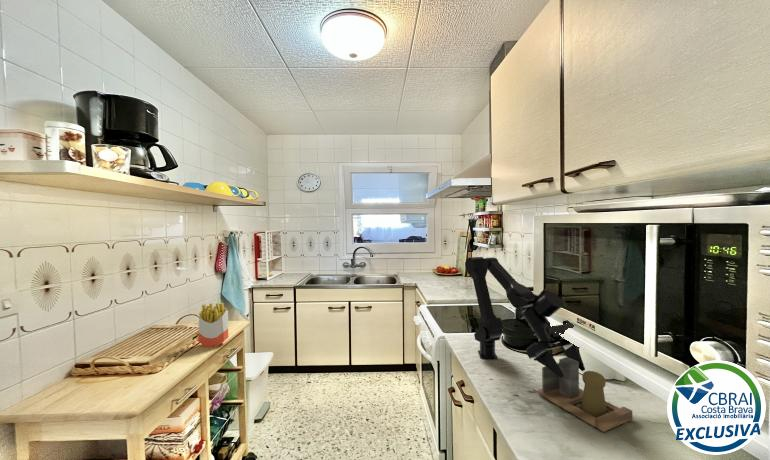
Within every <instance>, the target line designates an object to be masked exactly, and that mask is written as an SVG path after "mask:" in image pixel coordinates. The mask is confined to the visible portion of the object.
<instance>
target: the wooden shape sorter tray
mask: <svg viewBox="0 0 770 460" xmlns="http://www.w3.org/2000/svg"><path fill="white" fill-rule="evenodd" d="M557 364H558V366H559V367H560V369H561V371H562V373H563V375H564V377H562V378H561V377H559V376H558V375H556V374H555V373H554V372H552V371H551V370H550V369H548V368H547V367H546V366H543V367H542V368H541V381H542V383H541V384H542V385H541V388H540V389H538V390H537V392H538V393H537V394H538V395H539V396H542V397H543V398H545V399H546V400H548V401H550V402H552V403H553V404H555V405H556V406H558V407H560V408H562V409H564V410H565V411H566V412H569V413H570V414H572V415H574V416H576V417H577V418H579V419H581V420H582V421H584V422H585V423H588V424H589V425H590V426H592V427H595V428H596V429H598V430H599V431H601V432H606V431H608V430H609V431H610V430H611V429H613V428H616V427H618V426H620V425H622V424H625V423H627V422H629V421H631V420H633V410H632V409H630V408H628V407H626V406H621V407H618V406H616V405H614V404H612V403H611V402H608V401H606V400H605V403H606V409H607V414H604V415H602V416H600V417H597V418H595V417H594V416H592V415H590V414H588V413H586V412H585V411H583V410H581V408H580V407H578V406H575V405H576V404H579V403H582V399H583V392H584V389H581V388H580V369H579V362H578V361H575V360H573V359H571V358H568V357H567V356H566V357H563V358H559V360H558V362H557Z"/></svg>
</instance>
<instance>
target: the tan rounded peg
mask: <svg viewBox="0 0 770 460" xmlns="http://www.w3.org/2000/svg"><path fill="white" fill-rule="evenodd" d="M581 376H582V382H583V383H584V385H583V386H584V387H583V390H584V392H583V399H582V402H581V406H580V409H581V410H583V411H585V412H586V413H588V414H590V415H592V416H594V417H595V418H597V417H600V416H602V415H604V414H607V413H608V411H607V409H606V403H605V401H606V398H605V391H604V388H605V387H606V381H607V380H606V378H605V377H604V375H603V374H601V373H599V372H597V371H594V370H593V371H592V370H584V371H583V374H582V375H581Z"/></svg>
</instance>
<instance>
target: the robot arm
mask: <svg viewBox="0 0 770 460" xmlns="http://www.w3.org/2000/svg"><path fill="white" fill-rule="evenodd" d="M464 265H465V266H464V267H465V270H466V273H467V275H469V277H470V278H471V279H472V281H473V286H474V291H475V295H476V300H477V303H478V308H479V314H480V318H479V320H478V330H477V331H476V332H474V334H473V336H474V337H473V338H474V340H475V341H477V342H479V350H477V353H478V356H479V358H480V359H489V360H498V359H499V358H498V355H497V354H496V341H500V340H501V337H502V334H503V333H504V326H503V324H502V323H503V322H502V318H501V317H497V315H495V313H494V308H493V305H492V299H491V295H490V292H489V291H490V290H489V288H488V283H487V278H486V277H487V273H488V271H489V273H490V274H491V275H492V276H493V278H494V279H495V280H496V281H497V282H498V283H499V284H500V285H501V287H502V288H503V289H504V290H505V293H506V294H505V295H506V297H507V300H508V301H509V303H510V304H511V306H513V308H515V309H522V308H525V309H522V310H519V315H518V319H519V320H523V319H525V321H526V322H527V324H528V326H529V327H530V328H531V330H532V331H531V333H530V334H531V335H532V336H533V337H534V336H536V338H537V339H538V341H534V342H533V343H532V344H530V345H529V346H528V347H527V348H526V350H525V352H526V355H527V357H528V359H530V360H531V359H533V361H535V362H537V363H539V364H541V365H543V367H547V368H548V369H550V370H551V371H552V372H554V373H555V374H556V375H558V376H559V377H561V378H562V377H564V375H563V373H562V371H561V369H560V367H559V366H558V364H557V363H558V362H557V361H556V359H555V357H554V354H553V349H558V348H560V349H561V350H563V351H562V353H563V354H564V355H565V356H566V357H568V358H571V359H573V360H575V361H578V362H579V371H582V372H585V371H586V367H585V364H584V361H583V359H582V356H581V351H580V347H577V346H575V345H574V344H572V343H570V342H569V341H567V340H565V339H563V338H564V337H563V338H562V337H561V336H560V335H561V334H564V332H565V330H567V329H568V328H573V327H574V325H575V324H574V325H573V324H572V323H570V322H569V321H568V320H569V319H566V320H563V321H562V322H561V323H563V325H562V324H558V325H557V324H556V326H552V327H551V326H550V322H551V321H549V319H548V318H549V317H551V316H553V315H554V314H556V312H558V311H559V310H560V309H561V308H563V306H564V302H563V300H562V298H561V297H560V296H558V295H557V294H556V293H554V292H552V291H550V290H549V288H548V289H543V290H542V291H541V292H539V294H538V295H537V294H535V293H534V292H533V291H532V290H530V289H529V288H528V287H527V286H526V285H524V284H521V283H519V282H518V281H517V280H516V279H515V278H514V277H513V276H512V275H511V274H510V273H509V272H508V271H507V270H506V268H504V266H503V265H502V264H501V263H500V262H499V259H498V258H497V257H494V256H492V257H485V258H484V257H483V256H472V257H471V256H470V257H467V258H466V260H465V262H464ZM566 323H567V324H566ZM555 332H556V333H555ZM559 333H561V334H560V335H559Z"/></svg>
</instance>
